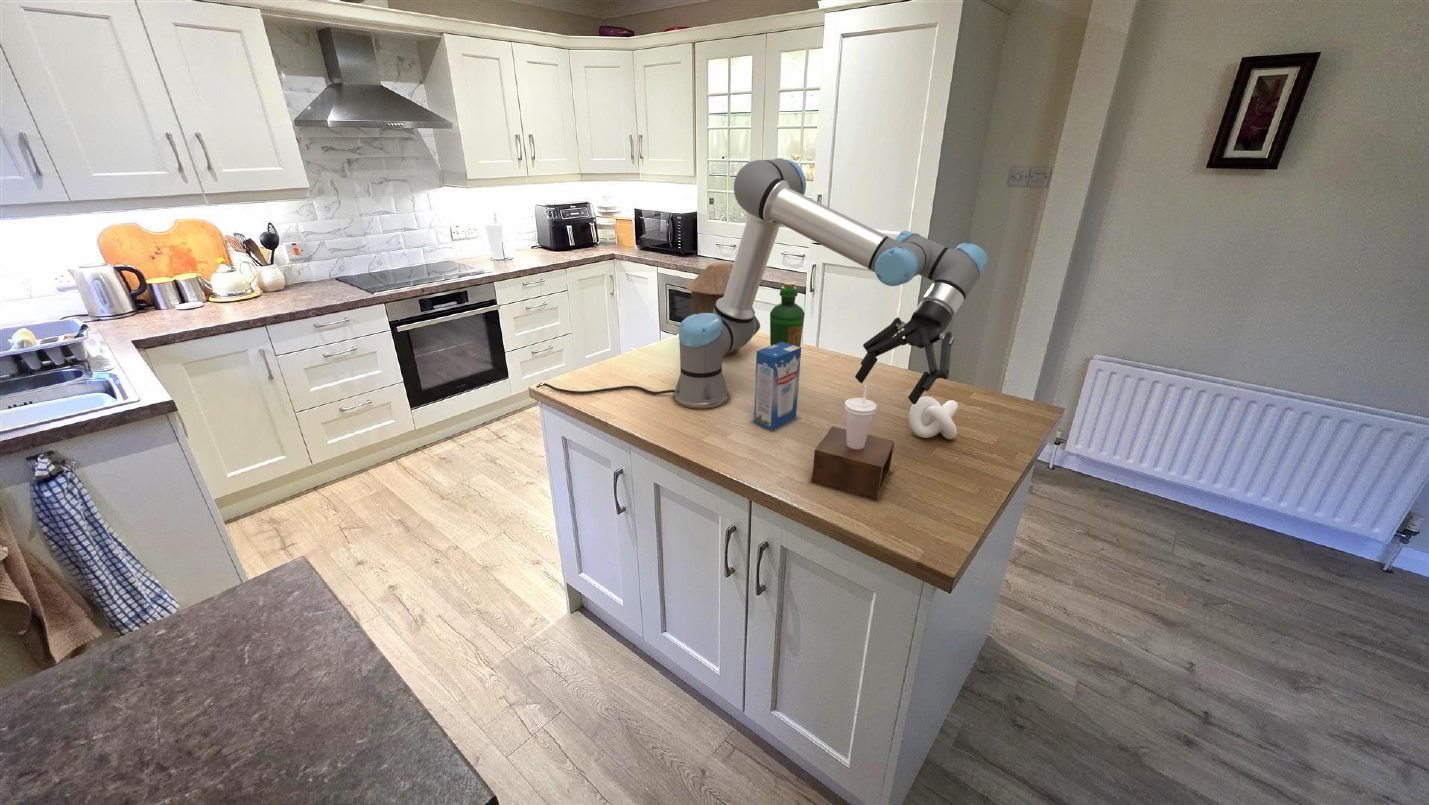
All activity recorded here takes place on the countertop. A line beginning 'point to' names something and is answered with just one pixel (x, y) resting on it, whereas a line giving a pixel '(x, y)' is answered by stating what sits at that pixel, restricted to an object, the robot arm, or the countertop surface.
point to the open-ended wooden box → (852, 464)
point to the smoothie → (858, 420)
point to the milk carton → (776, 385)
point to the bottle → (787, 318)
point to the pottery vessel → (711, 289)
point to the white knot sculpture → (933, 418)
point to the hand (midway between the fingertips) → (883, 390)
